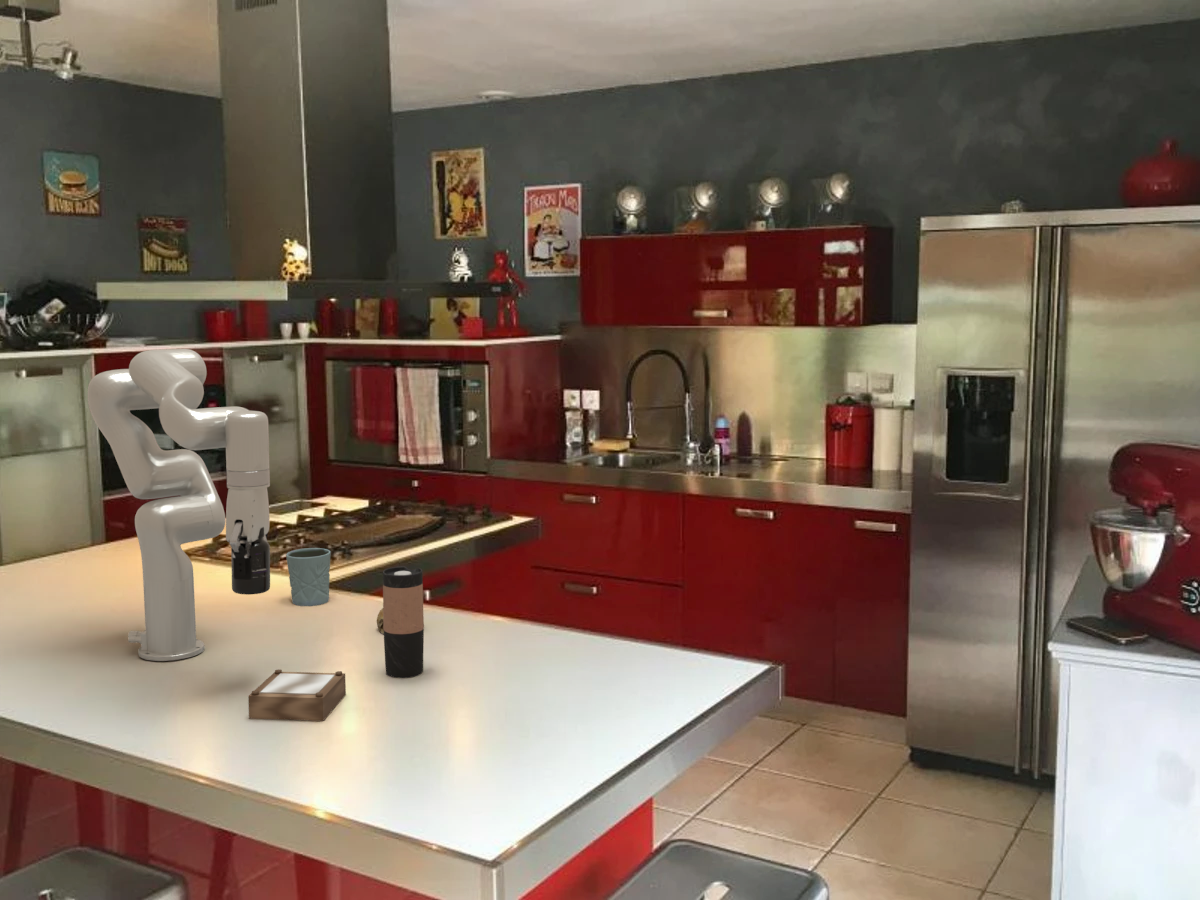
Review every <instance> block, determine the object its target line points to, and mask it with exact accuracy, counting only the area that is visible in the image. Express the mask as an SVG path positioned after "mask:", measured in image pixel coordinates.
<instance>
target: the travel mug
mask: <svg viewBox="0 0 1200 900" xmlns="http://www.w3.org/2000/svg"><path fill="white" fill-rule="evenodd" d="M423 581H424V580H423V569H422V568H420V567H416V568H415V569H409V568H407V567H406V566H393V567H390V568H385V569H384V570H383V572H382V602H383V603H382V608H383V630H384V634H383V644H384V647H383V648H384V663H385V664H384V666H385V674H386V675H387V677H391V678H395V679H396V678H399V679H405V678H406V679H407V678H414V677H418V676H419V675H421V674H422V673H423V672H424V637H425V634H424V633H425V629H424V628H425V623H424V619H425V618H424V591H423V590H424V588H423V587H424V586H423V585H424V584H423Z"/></svg>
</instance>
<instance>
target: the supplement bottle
mask: <svg viewBox="0 0 1200 900" xmlns="http://www.w3.org/2000/svg"><path fill="white" fill-rule="evenodd" d="M263 537H264V527H262V528H261V529H260V532H259V536H258V539H257V540H256V541H254V542H252V543H251V549H250V556H249V557H250V558H252V578H251V579H250V580H243V579H235V578H234V563H233V557H232V554H233V552H232V550H231V549H230V550H231V591H233V593H235V594H239V595H247V596H248V595H258V594H259V595H261V594H264V593H267V592H269V590H270V588H271V546H270V543H269V542H268V540H267V541H265V540H263ZM240 540H243V541H247V538H240ZM241 546H243V548H244V549H245V547H246V545H241Z"/></svg>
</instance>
